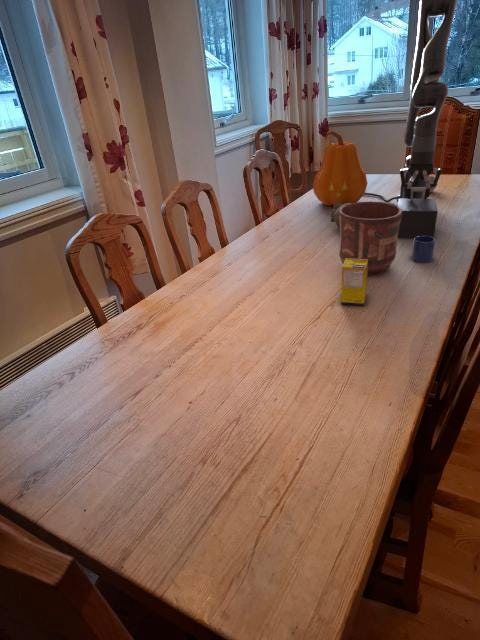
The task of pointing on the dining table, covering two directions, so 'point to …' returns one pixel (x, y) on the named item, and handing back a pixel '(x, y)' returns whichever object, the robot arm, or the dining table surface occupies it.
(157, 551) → the dining table surface
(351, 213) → the pottery
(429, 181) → the mug
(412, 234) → the black cube
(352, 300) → the supplement box
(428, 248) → the creamer cup
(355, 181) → the decorative pumpkin
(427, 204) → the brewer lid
